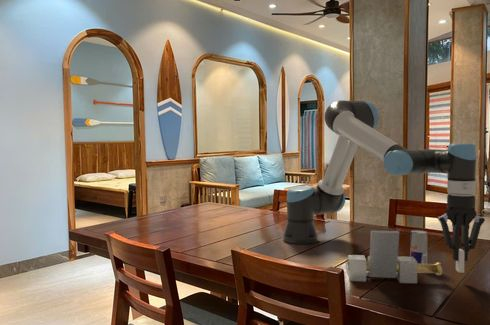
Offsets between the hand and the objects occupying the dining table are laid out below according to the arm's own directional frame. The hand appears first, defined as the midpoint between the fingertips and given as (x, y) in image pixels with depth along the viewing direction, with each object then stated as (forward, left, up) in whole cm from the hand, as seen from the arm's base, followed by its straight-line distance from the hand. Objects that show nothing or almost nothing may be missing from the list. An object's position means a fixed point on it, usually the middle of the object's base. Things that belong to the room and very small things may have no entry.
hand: (459, 270), depth 123 cm
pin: (-17, 0, -1) cm, 17 cm away
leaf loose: (-23, -4, +5) cm, 24 cm away
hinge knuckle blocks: (-23, +4, -4) cm, 24 cm away
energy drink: (-8, +15, -4) cm, 18 cm away
